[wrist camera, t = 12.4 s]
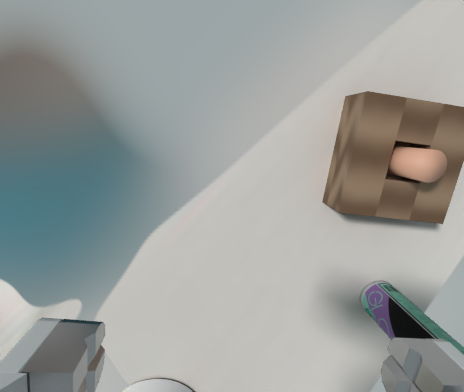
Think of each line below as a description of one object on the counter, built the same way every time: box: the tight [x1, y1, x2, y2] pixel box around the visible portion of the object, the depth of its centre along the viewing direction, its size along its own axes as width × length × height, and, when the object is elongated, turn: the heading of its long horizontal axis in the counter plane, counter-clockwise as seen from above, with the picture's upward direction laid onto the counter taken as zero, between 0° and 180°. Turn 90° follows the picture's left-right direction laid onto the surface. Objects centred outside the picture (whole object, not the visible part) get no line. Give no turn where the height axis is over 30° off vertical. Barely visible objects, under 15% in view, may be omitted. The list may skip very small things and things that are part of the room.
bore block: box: [323, 91, 464, 224], centre depth 35 cm, size 14×14×5 cm
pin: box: [387, 146, 447, 183], centre depth 32 cm, size 4×4×7 cm
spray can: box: [360, 281, 464, 355], centre depth 33 cm, size 6×6×20 cm
